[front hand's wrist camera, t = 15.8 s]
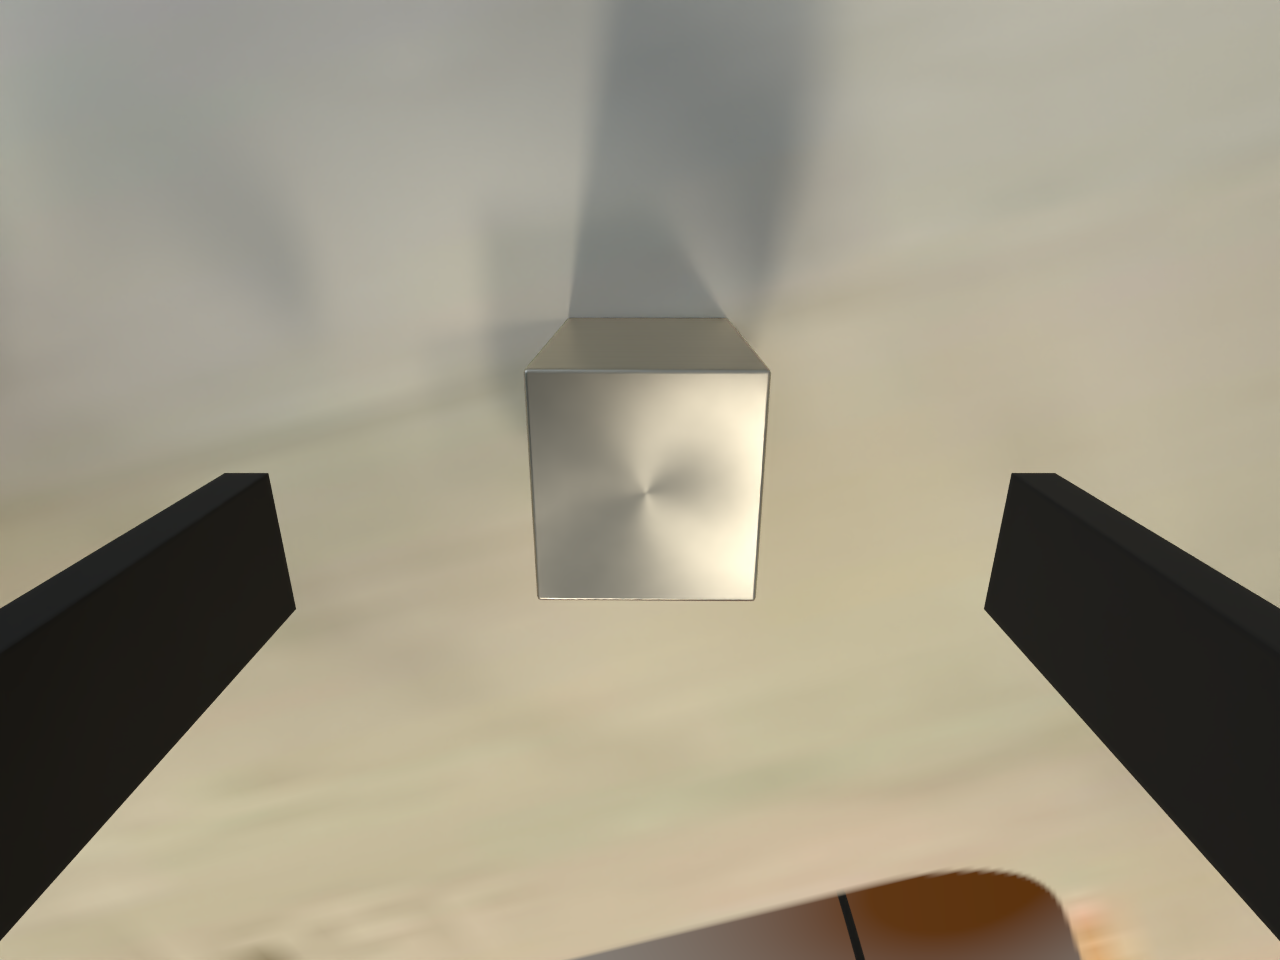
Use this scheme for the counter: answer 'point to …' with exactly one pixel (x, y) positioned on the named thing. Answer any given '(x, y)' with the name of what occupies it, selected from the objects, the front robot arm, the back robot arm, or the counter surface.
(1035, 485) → the front robot arm
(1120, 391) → the counter surface
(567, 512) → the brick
